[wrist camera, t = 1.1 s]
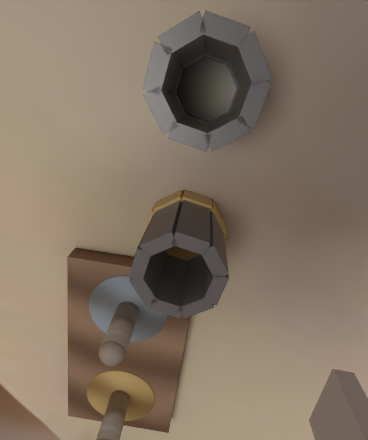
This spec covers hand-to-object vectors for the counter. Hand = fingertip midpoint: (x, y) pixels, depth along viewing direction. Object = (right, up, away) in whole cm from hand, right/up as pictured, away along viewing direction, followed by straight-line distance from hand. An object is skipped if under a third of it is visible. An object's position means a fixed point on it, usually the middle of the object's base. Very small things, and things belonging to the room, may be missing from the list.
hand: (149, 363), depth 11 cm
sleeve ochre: (+1, +5, +12) cm, 13 cm away
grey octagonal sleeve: (+3, +14, +8) cm, 16 cm away
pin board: (-4, -6, +17) cm, 18 cm away
